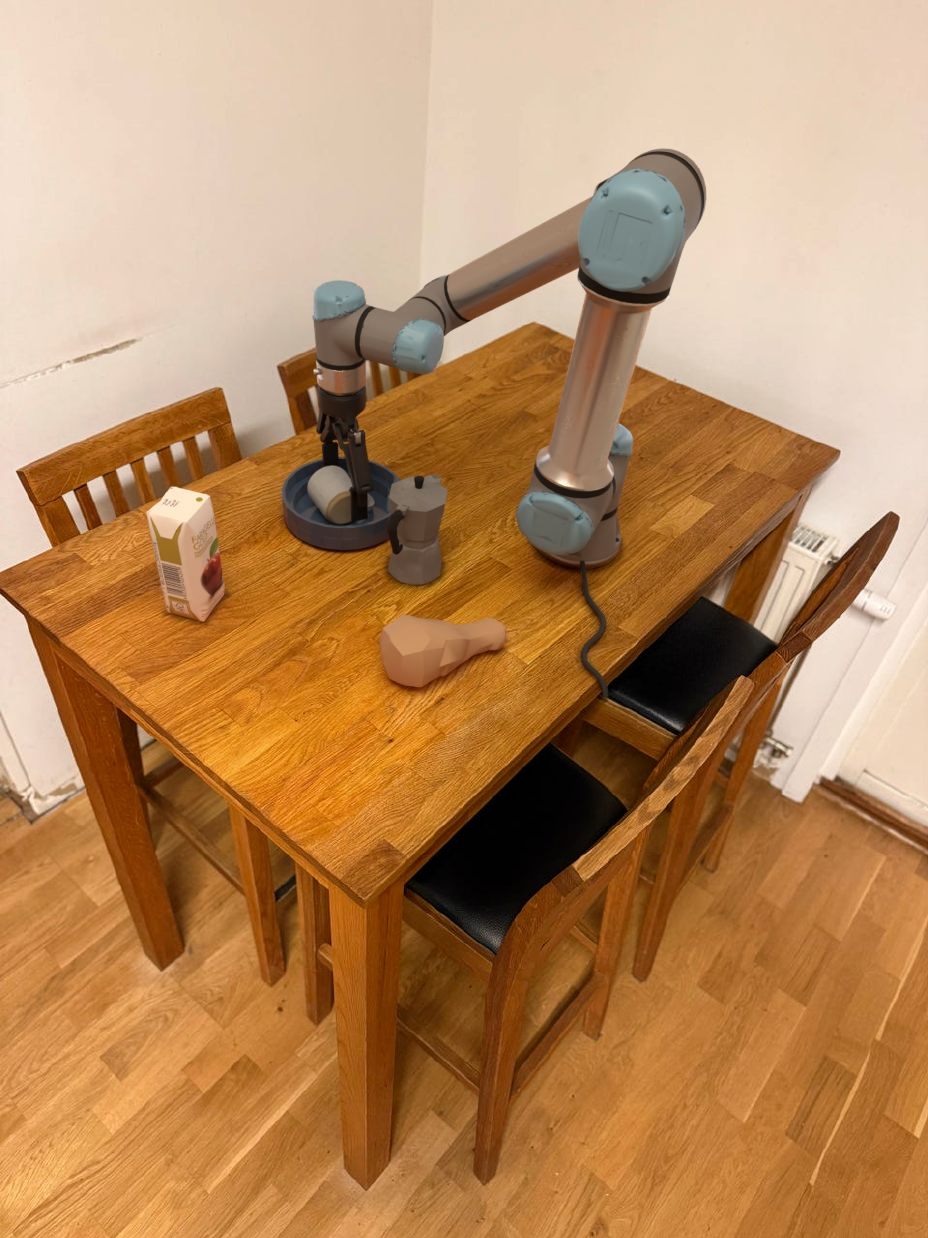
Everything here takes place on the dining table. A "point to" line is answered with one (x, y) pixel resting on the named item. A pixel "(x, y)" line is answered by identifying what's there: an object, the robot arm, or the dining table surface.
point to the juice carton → (187, 553)
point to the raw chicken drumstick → (434, 646)
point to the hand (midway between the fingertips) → (345, 496)
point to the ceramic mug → (333, 494)
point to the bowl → (318, 529)
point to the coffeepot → (416, 529)
